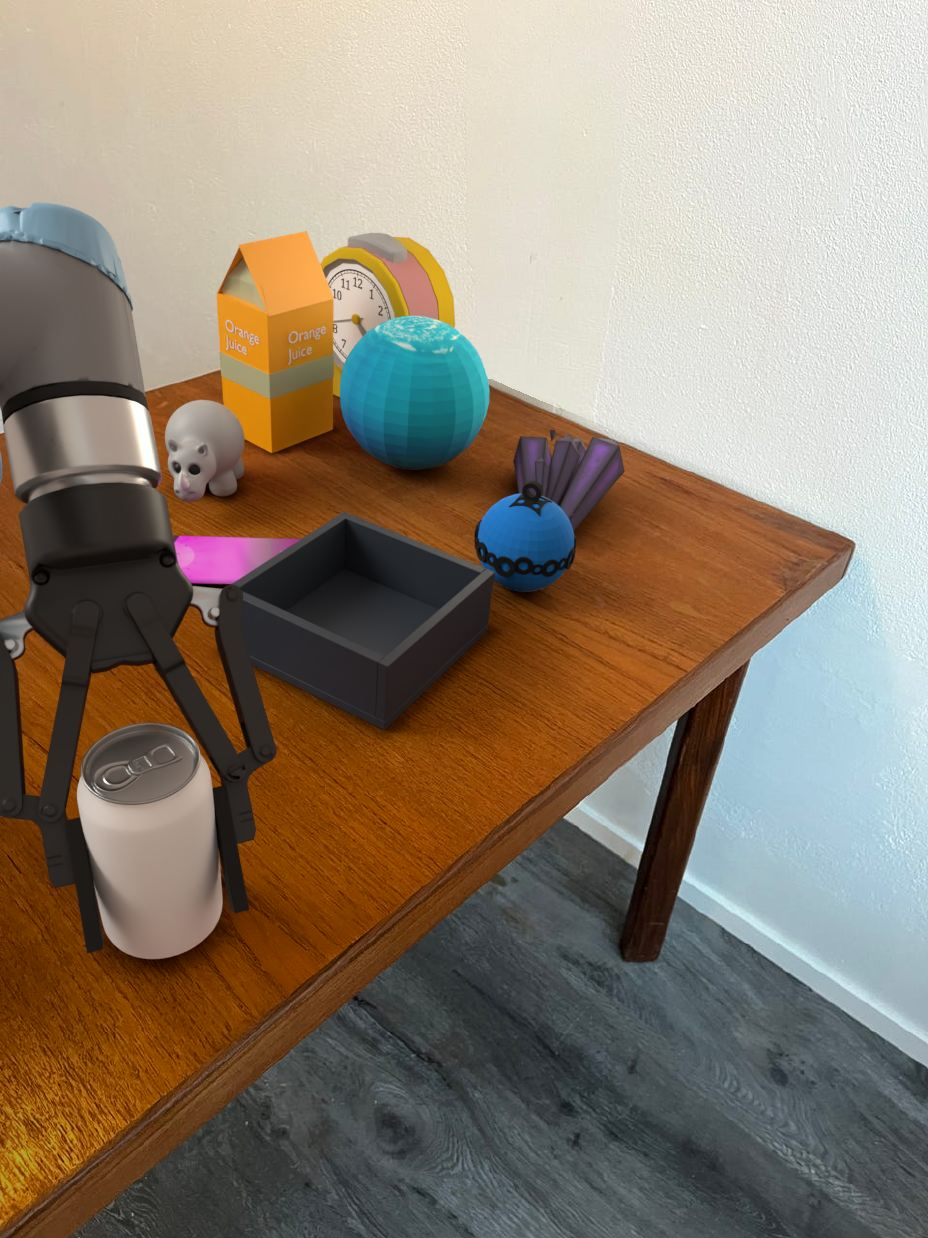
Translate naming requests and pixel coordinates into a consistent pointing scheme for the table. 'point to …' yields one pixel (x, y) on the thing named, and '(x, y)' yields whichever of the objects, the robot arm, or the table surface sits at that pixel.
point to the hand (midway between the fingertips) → (169, 927)
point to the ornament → (525, 540)
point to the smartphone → (224, 556)
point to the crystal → (569, 471)
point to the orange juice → (277, 342)
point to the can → (151, 839)
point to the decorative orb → (414, 392)
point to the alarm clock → (381, 289)
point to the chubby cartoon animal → (204, 449)
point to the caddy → (363, 616)
